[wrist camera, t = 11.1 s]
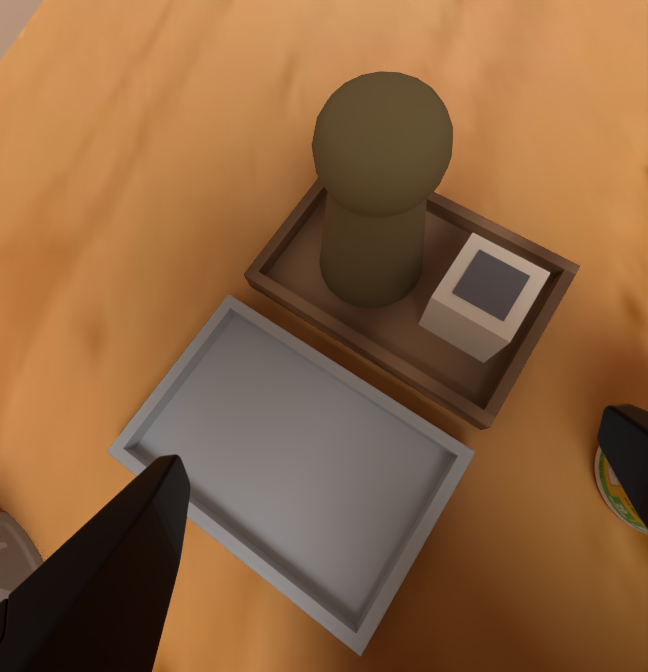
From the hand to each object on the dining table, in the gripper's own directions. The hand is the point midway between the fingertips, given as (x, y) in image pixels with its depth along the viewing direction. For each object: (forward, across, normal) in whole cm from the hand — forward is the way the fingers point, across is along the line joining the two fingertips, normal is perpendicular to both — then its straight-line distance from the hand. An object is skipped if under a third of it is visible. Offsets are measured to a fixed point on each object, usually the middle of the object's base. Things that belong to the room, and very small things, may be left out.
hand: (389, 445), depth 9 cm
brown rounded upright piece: (+17, -2, +2) cm, 17 cm away
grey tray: (+10, +4, +9) cm, 14 cm away
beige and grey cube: (+14, -6, +4) cm, 16 cm away
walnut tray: (+16, -4, +3) cm, 17 cm away
